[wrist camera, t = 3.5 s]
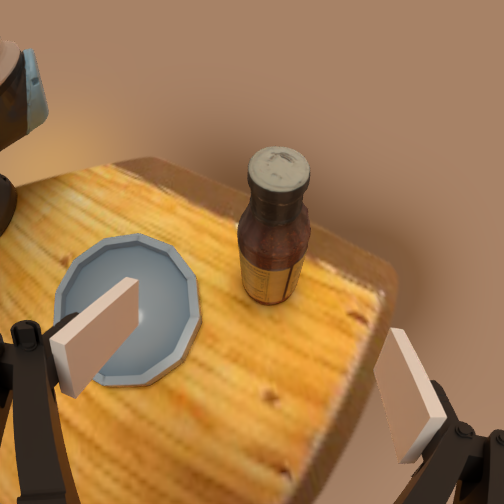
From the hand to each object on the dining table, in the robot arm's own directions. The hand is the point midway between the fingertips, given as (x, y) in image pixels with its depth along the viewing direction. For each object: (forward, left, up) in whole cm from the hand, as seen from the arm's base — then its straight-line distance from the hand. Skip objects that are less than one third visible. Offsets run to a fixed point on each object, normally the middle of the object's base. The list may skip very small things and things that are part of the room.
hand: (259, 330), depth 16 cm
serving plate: (-9, -14, -19) cm, 25 cm away
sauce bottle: (-10, +3, -19) cm, 22 cm away
